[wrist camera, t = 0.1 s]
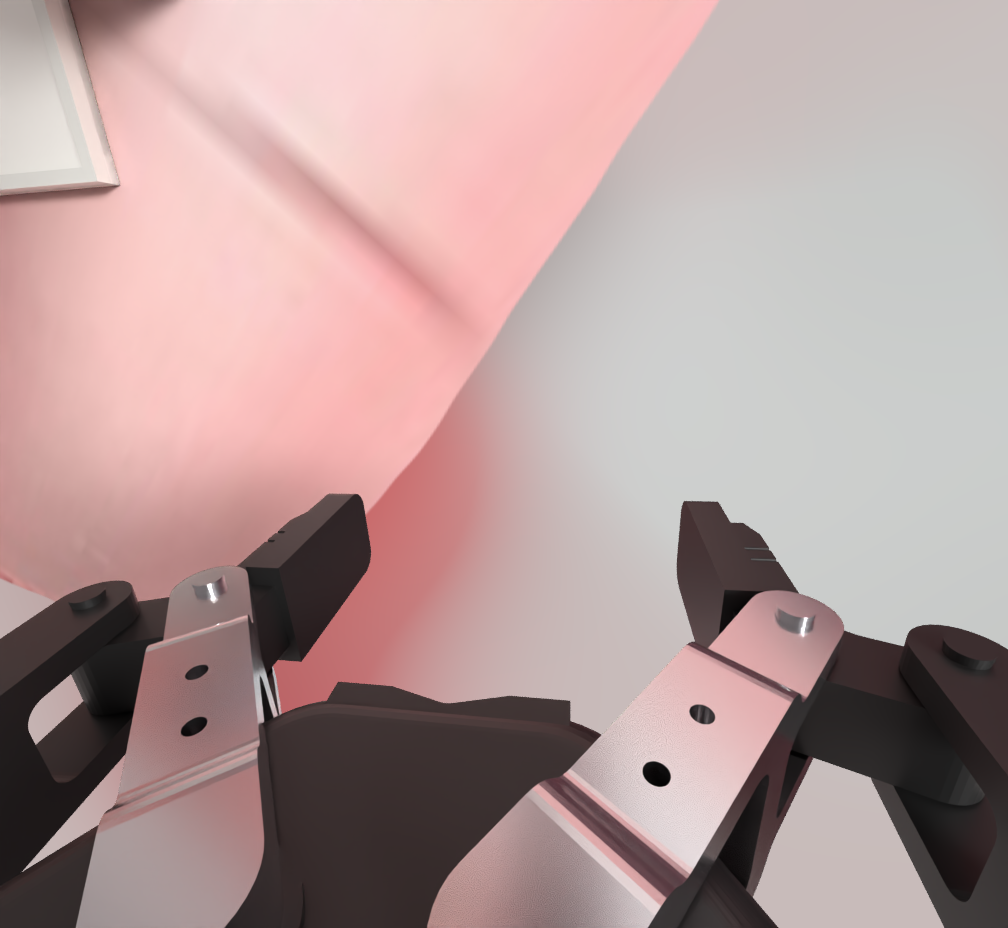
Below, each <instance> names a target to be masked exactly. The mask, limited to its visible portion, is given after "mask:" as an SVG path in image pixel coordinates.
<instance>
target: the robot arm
mask: <svg viewBox="0 0 1008 928" xmlns="http://www.w3.org/2000/svg"><path fill="white" fill-rule="evenodd" d="M370 557H371V547H370V541H369V535H368V529H367V523H366V517H365V511H364V505H363V501H362V499H361V497H360V496H359V495H358V494H328V495H326V496H325V497H324V498H323V499H322V500H321V501H320V502H318V503H317V504H316V505H315V506H314V507H313V508H312V509H310V510H309V511H308V512H306V513H304V514H302V515H300V516H298V517H296V518H294V519H292V520H290V521H289V522H288V523H287V524H286V525H285V526H283V527H282V528H281V529H280V530H279V531H278V533H275V534H274V535H273V536H272V537H271V538H269V539H268V542H265V543H264V544H262V545H261V546H260V547H259V548H258V549H257V550H255V551H254V552H253V553H252V554H251V555H250V556H248V557H247V558H246V559H245V560H244V561H243V562H241V563H240V564H239V565H238V566H221V567H216V568H211V569H208V570H204V571H202V572H199V573H197V574H194V575H192V576H190V577H188V578H187V579H185V580H183V581H182V582H180V583H179V584H178V585H177V586H176V587H175V588H174V589H173V590H172V592H171V594H170V597H168V598H161V599H154V600H148V601H141V602H138V601H137V598H136V595H135V593H134V590H133V587H132V585H131V584H130V583H128V582H125V581H108V582H102V583H98V584H94V585H91V586H87V587H84V588H82V589H79V590H77V591H75V592H72V593H70V594H68V595H66V596H64V597H63V598H61V599H59V600H58V601H56V602H55V603H53V604H52V605H50V606H49V607H47V608H46V609H44V610H43V611H41V612H40V613H38V614H37V615H36V616H34V617H32V618H31V619H29V620H28V621H27V622H25V623H23V624H22V625H20V626H19V627H17V628H16V629H14V630H13V631H12V632H10V633H8V634H7V635H5V636H4V637H3V638H1V639H0V928H778V927H777V925H776V924H775V923H774V922H773V921H772V920H771V919H770V917H769V916H768V915H767V914H766V913H765V912H764V910H763V909H762V908H761V907H760V906H759V904H758V903H757V902H756V901H755V900H754V899H753V895H754V893H755V890H756V888H757V886H758V883H759V881H760V878H761V875H762V872H763V870H764V867H765V864H766V861H767V857H768V854H769V852H770V849H771V846H772V844H773V841H774V839H775V837H776V834H777V832H778V830H779V828H780V826H781V824H782V822H783V820H784V818H785V816H786V814H787V812H788V810H789V808H790V806H791V803H792V801H793V799H794V797H795V795H796V793H797V791H798V789H799V787H800V785H801V783H802V781H803V779H804V777H805V775H806V772H807V770H808V768H809V766H810V764H811V762H812V760H813V758H816V759H819V760H822V761H825V762H828V763H831V764H833V765H836V766H839V767H842V768H845V769H848V770H851V771H854V772H857V773H859V774H862V775H865V776H868V777H871V779H872V782H873V784H874V786H875V788H876V790H877V792H878V794H879V796H880V798H881V800H882V802H883V804H884V806H885V808H886V810H887V812H888V814H889V816H890V818H891V820H892V822H893V824H894V826H895V828H896V830H897V832H898V834H899V836H900V838H901V840H902V842H903V844H904V846H905V848H906V851H907V852H908V855H909V857H910V859H911V861H912V862H913V865H914V867H915V869H916V871H917V873H918V875H919V877H920V879H921V881H922V883H923V885H924V887H925V889H926V891H927V893H928V895H929V897H930V899H931V901H932V903H933V905H934V907H935V909H936V911H937V913H938V915H939V917H940V919H941V921H942V923H943V925H944V928H1008V649H1006V648H1005V647H1003V646H1001V645H1000V644H998V643H996V642H994V641H992V640H989V639H987V638H985V637H983V636H980V635H978V634H975V633H972V632H969V631H966V630H962V629H959V628H954V627H950V626H943V625H922V626H918V627H915V628H913V629H912V630H911V631H909V633H908V635H907V638H906V642H905V645H904V646H899V645H895V644H891V643H887V642H883V641H879V640H874V639H870V638H866V637H862V636H858V635H855V634H852V633H850V632H847V631H844V625H843V622H842V620H841V618H840V617H839V616H838V615H837V614H836V613H835V611H833V610H832V609H831V608H829V607H828V606H826V605H825V604H823V603H822V602H820V601H818V600H815V599H813V598H811V597H808V596H805V595H802V594H799V593H798V591H797V590H796V588H795V587H794V585H793V584H792V582H791V581H790V579H789V577H788V576H787V574H786V573H785V571H784V570H783V568H782V567H781V565H780V564H779V562H776V558H775V556H774V555H773V553H772V552H771V551H769V547H768V546H767V544H766V543H765V541H764V540H763V538H762V537H761V535H760V534H759V533H757V532H756V531H754V530H753V529H751V528H749V527H748V526H746V525H745V524H744V523H730V521H729V520H728V518H727V516H726V514H725V513H724V511H723V510H722V507H721V506H720V504H719V503H718V502H702V501H684V502H683V505H682V509H681V519H680V531H679V542H678V554H677V579H678V584H679V589H680V592H681V596H682V599H683V602H684V606H685V609H686V612H687V616H688V619H689V623H690V626H691V629H692V633H693V636H694V639H695V642H690V643H688V644H687V645H686V646H685V647H684V648H683V649H682V650H681V651H680V652H679V653H678V654H677V655H676V656H675V657H674V658H673V660H671V661H670V663H669V664H668V665H667V666H666V667H665V668H664V669H663V670H662V671H661V672H660V673H659V674H658V675H657V676H656V677H655V679H654V680H653V681H652V682H651V683H650V684H649V685H648V686H647V687H646V688H645V689H644V690H643V691H642V692H641V693H640V695H639V696H638V697H637V698H636V699H635V700H634V701H633V702H632V703H631V704H630V705H629V706H628V707H627V708H626V709H625V711H624V712H623V713H622V714H621V715H620V716H619V717H618V718H617V719H616V720H615V721H614V722H613V723H612V724H611V725H610V727H609V728H608V729H607V730H606V731H605V732H604V733H603V734H602V735H601V734H599V733H598V732H596V731H594V730H591V729H589V728H587V727H584V726H583V725H580V724H577V723H574V722H571V721H570V701H566V700H553V699H541V698H529V697H528V698H527V697H517V696H506V697H498V698H490V699H482V700H474V701H466V702H458V703H441V702H438V701H435V700H432V699H429V698H426V697H423V696H420V695H417V694H414V693H411V692H408V691H405V690H402V689H399V688H396V687H393V686H383V685H371V684H359V683H347V682H338V683H337V685H336V687H335V688H334V690H333V691H332V693H331V695H330V696H329V698H328V700H327V701H321V702H317V703H312V704H308V705H305V706H302V707H298V708H295V709H293V710H290V711H288V712H285V713H283V714H282V713H281V707H280V700H279V694H278V687H277V682H276V676H275V673H274V669H273V665H274V664H275V663H276V661H277V660H287V661H300V662H301V661H302V660H303V659H304V657H305V656H306V655H307V653H308V652H309V650H310V649H311V648H312V646H313V645H314V644H315V642H316V641H317V639H318V638H319V636H320V635H321V634H322V632H323V631H324V630H325V628H326V627H327V625H328V624H329V623H330V621H331V620H332V618H333V617H334V616H335V614H336V613H337V612H338V610H339V609H340V607H341V606H342V605H343V603H344V602H345V600H346V599H347V598H348V596H349V595H350V593H351V592H352V591H353V589H354V588H355V587H356V585H357V584H358V582H359V581H360V580H361V578H362V577H363V575H364V574H365V573H366V571H367V569H368V566H369V563H370ZM70 674H71V675H72V677H73V679H74V681H75V683H76V685H77V688H78V690H79V692H80V694H81V696H82V699H83V700H84V701H83V702H82V703H81V704H80V705H79V706H78V707H77V708H76V709H75V710H73V711H72V712H71V713H70V714H69V715H68V716H67V717H66V718H65V719H64V720H63V721H62V722H60V723H59V724H58V725H57V726H56V727H55V728H54V729H53V730H52V731H51V732H50V733H48V735H46V736H45V737H44V738H43V739H42V740H41V741H40V742H39V743H38V744H37V745H35V743H34V741H33V739H32V737H31V735H30V733H29V731H28V721H29V717H30V714H31V712H32V710H33V708H34V707H35V705H36V704H37V703H38V702H39V701H40V700H41V699H42V698H43V697H44V696H45V695H46V694H48V693H49V692H50V691H51V690H52V689H53V688H55V687H56V686H57V685H58V684H60V683H61V682H62V681H63V680H64V679H66V678H67V677H68V676H69V675H70ZM125 754H126V756H125V761H124V767H123V771H122V776H121V782H120V787H119V792H118V797H117V800H116V803H115V805H114V806H113V807H112V808H111V809H109V810H108V811H106V812H105V813H104V815H103V817H102V818H101V821H100V823H99V825H98V826H96V827H94V828H93V829H91V830H90V831H88V832H86V833H85V834H83V835H82V836H80V837H78V838H77V839H75V840H73V841H72V842H70V843H68V844H67V845H65V846H64V847H62V848H60V849H59V850H57V851H56V852H54V853H52V854H51V855H49V856H47V857H46V858H44V859H43V860H41V861H39V862H38V863H36V864H34V865H33V866H31V867H30V868H28V869H26V870H25V871H24V872H22V871H23V870H24V869H25V868H26V866H27V865H28V864H29V863H30V862H31V861H32V860H33V858H34V857H35V856H36V855H37V854H38V853H39V852H40V850H41V849H42V848H43V847H44V846H45V845H46V844H47V842H48V841H49V840H50V839H51V838H52V837H53V836H54V835H55V833H56V832H57V831H58V830H59V829H60V828H61V827H62V825H63V824H64V823H65V822H66V821H67V820H68V818H69V817H70V816H71V815H72V814H73V813H74V812H75V811H76V809H77V808H78V807H79V806H80V805H81V804H82V803H83V802H84V800H85V799H86V798H87V797H88V796H89V795H90V794H91V792H92V791H93V790H94V789H95V788H96V787H97V785H99V783H100V782H101V781H102V780H103V779H104V778H105V776H106V775H107V774H108V773H109V772H110V771H111V770H112V769H113V768H114V766H115V765H116V764H117V763H118V762H119V761H120V760H121V758H122V757H123V756H124V755H125Z"/></svg>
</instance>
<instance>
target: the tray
mask: <svg viewBox="0 0 1008 928" xmlns="http://www.w3.org/2000/svg"><path fill="white" fill-rule="evenodd" d="M118 185H120V183H119V179H118V176H117V172H116V169H115V165H114V162H113V158H112V155H111V151H110V147H109V144H108V140H107V137H106V133H105V130H104V126H103V123H102V119H101V116H100V112H99V109H98V105H97V102H96V98H95V94H94V91H93V87H92V84H91V80H90V77H89V73H88V70H87V66H86V63H85V59H84V56H83V52H82V48H81V45H80V41H79V38H78V34H77V31H76V27H75V24H74V20H73V17H72V13H71V10H70V6H69V3H68V0H0V196H1V195H13V194H24V193H36V192H48V191H59V190H71V189H83V188H94V187H106V186H118Z"/></svg>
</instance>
